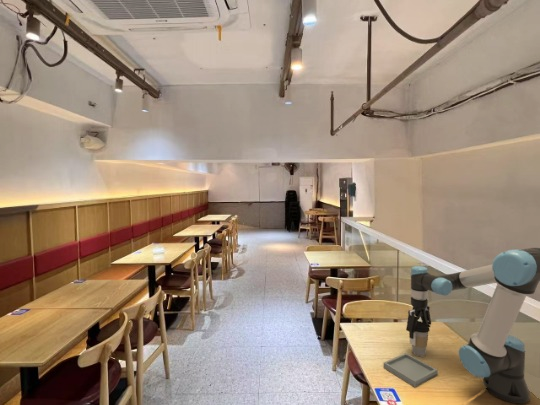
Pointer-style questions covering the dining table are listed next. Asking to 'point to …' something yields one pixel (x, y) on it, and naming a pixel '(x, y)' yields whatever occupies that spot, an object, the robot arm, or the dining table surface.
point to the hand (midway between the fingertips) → (418, 341)
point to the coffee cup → (421, 339)
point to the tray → (410, 369)
